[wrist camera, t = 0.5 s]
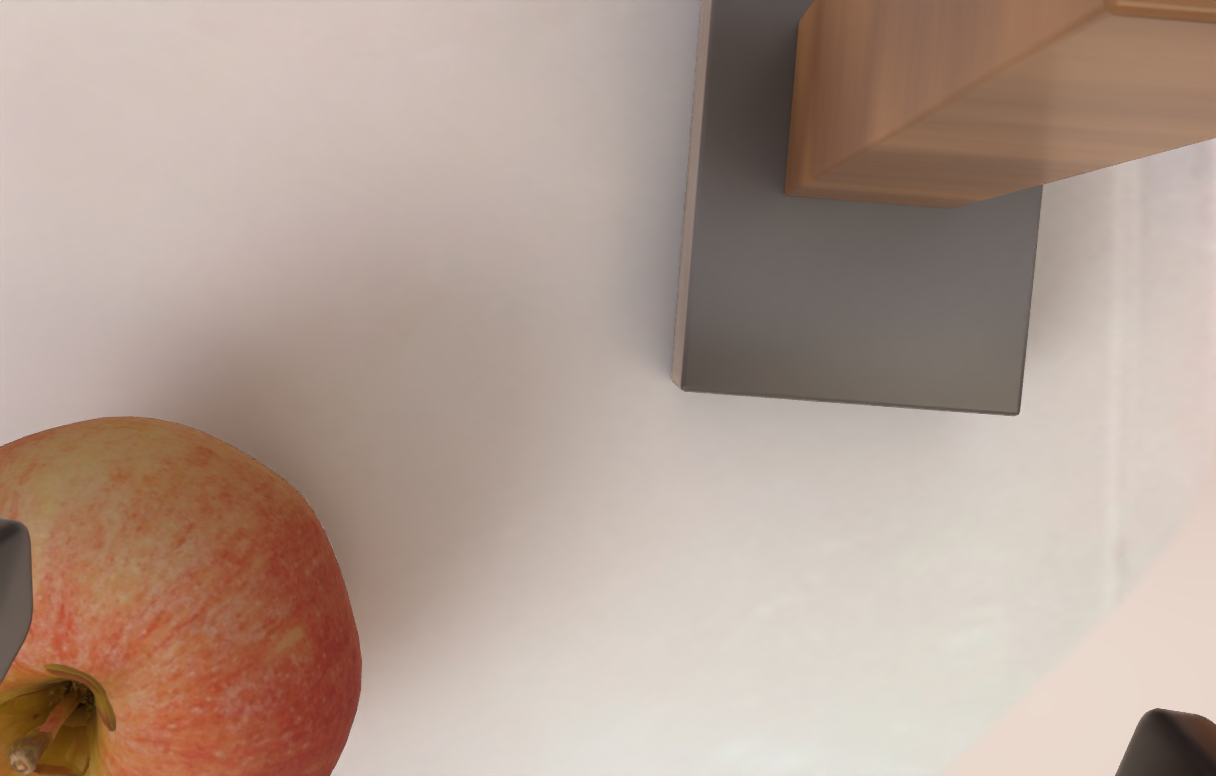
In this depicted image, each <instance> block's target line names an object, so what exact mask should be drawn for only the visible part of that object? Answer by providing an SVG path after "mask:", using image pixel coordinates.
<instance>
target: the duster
mask: <svg viewBox="0 0 1216 776" xmlns="http://www.w3.org/2000/svg"><path fill="white" fill-rule="evenodd" d="M1213 138H1216V0H701V8H700V21H699V33H698V46H697V58H696V71H695V83H694V96H693V108H692V121H691V133H690V146H689V158H688V171H687V183H686V196H685V208H684V221H683V233H682V246H681V258H680V271H679V283H678V296H677V308H676V321H675V333H674V346H673V358H672V371H671V379H672V381H673V382H674V383H675V384H676V385H677V386H678V387H679V388H680V389H681V390H683V391H685V392H698V393H711V394H725V395H738V396H751V397H765V398H778V399H792V400H805V401H818V402H832V403H845V404H858V405H872V406H885V407H898V408H912V409H925V410H939V411H952V412H965V413H979V414H992V415H1005V416H1016V415H1018V414H1019V412H1020V406H1021V396H1022V386H1023V377H1024V367H1025V357H1026V347H1027V337H1028V327H1029V317H1030V307H1031V297H1032V288H1033V278H1034V268H1035V258H1036V248H1037V238H1038V228H1039V218H1040V208H1041V199H1042V189H1043V184H1046V183H1049V182H1053V181H1057V180H1060V179H1064V178H1068V177H1072V176H1075V175H1079V174H1083V173H1086V172H1090V171H1094V170H1098V169H1101V168H1105V167H1109V166H1113V165H1116V164H1120V163H1124V162H1127V161H1131V160H1135V159H1139V158H1142V157H1146V156H1150V155H1153V154H1157V153H1161V152H1165V151H1168V150H1172V149H1176V148H1179V147H1183V146H1187V145H1191V144H1194V143H1198V142H1202V141H1205V140H1209V139H1213Z"/></svg>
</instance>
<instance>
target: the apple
mask: <svg viewBox="0 0 1216 776" xmlns="http://www.w3.org/2000/svg"><path fill="white" fill-rule="evenodd" d="M0 517H2V518H8V519H14V520H18V521H21V522H22V523H23V524H24V525H25V526H26V527H27V529H28V531H29V534H30V539H31V557H32V582H33V617H32V622H31V626H30V630H29V632H28V635H27V637H26V639H25V642H24V643H23V645H22V647H21V649H20V651H19V653H18V654H17V656H16V658H15V660H14V662H13V663H12V665H11V667H10V669H9V671H8V673H7V674H6V676H5V678H4V680H3V682H2V683H1V685H0V776H330V774H331V773H332V771H333V769H334V767H335V765H336V764H337V762H338V759H339V757H340V755H341V753H342V751H343V749H344V747H345V744H346V742H347V739H348V736H349V733H350V730H351V727H352V724H353V720H354V717H355V714H356V711H357V706H358V701H359V696H360V691H361V670H362V660H361V652H360V644H359V636H358V632H357V628H356V624H355V621H354V617H353V613H352V609H351V605H350V601H349V597H348V593H347V590H346V587H345V584H344V580H343V577H342V574H341V571H340V568H339V566H338V563H337V560H336V558H335V555H334V552H333V550H332V548H331V545H330V543H329V541H328V539H327V536H326V534H325V532H324V530H323V528H322V526H321V524H320V522H319V521H318V519H317V517H316V515H315V513H314V511H313V510H312V509H311V508H310V506H309V505H308V504H307V502H306V501H305V500H304V499H303V497H302V496H301V495H300V493H299V492H298V491H297V490H295V489H294V488H293V487H292V486H291V485H289V484H288V483H287V482H286V481H285V480H283V479H282V478H281V477H280V476H278V475H277V474H276V473H274V472H273V471H271V470H270V469H268V468H267V467H265V466H264V465H263V464H261V463H259V462H258V461H256V460H254V459H253V458H251V457H249V456H248V455H246V454H244V453H243V452H241V451H239V450H238V449H236V448H234V447H232V446H230V445H228V444H227V443H225V442H223V441H221V440H219V439H216V438H214V437H212V436H210V435H208V434H206V433H203V432H201V431H199V430H196V429H193V428H190V427H187V426H184V425H181V424H177V423H173V422H168V421H163V420H158V419H153V418H142V417H131V416H129V417H105V418H98V419H93V420H87V421H82V422H77V423H72V424H68V425H64V426H60V427H56V428H52V429H48V430H45V431H41V432H38V433H35V434H32V435H28V436H26V437H23V438H21V439H18V440H15V441H13V442H10V443H8V444H5V445H3V446H1V447H0Z"/></svg>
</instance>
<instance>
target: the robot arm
mask: <svg viewBox="0 0 1216 776" xmlns="http://www.w3.org/2000/svg"><path fill="white" fill-rule="evenodd" d="M32 617H33V582H32V557H31V539H30V534H29V531H28V529H27V527H26V526H25V525H24V524H23V523H22V522H21V521H18V520H14V519H8V518H2V517H0V685H1V683H2V682H3V680H4V678H5V676H6V674H7V673H8V671H9V669H10V667H11V665H12V663H13V662H14V660H15V658H16V656H17V654H18V653H19V651H20V649H21V647H22V645H23V643H24V642H25V639H26V637H27V635H28V632H29V630H30V626H31V622H32ZM1115 776H1216V724H1214V723H1213V722H1212V721H1210V720H1209V719H1207V718H1205V717H1203V716H1200V715H1197V714H1191V713H1185V712H1179V711H1172V710H1166V709H1159V708H1157V709H1153V710H1150V711H1148V712H1146V713H1145V715H1144V716H1143V717H1142V718H1141V720H1140V721H1139V723H1138V725H1137V727H1136V730H1135V732H1134V734H1133V736H1132V739H1131V741H1130V743H1129V745H1128V748H1127V750H1126V752H1125V754H1124V757H1123V759H1122V761H1121V763H1120V766H1119V768H1118V770H1117V773H1116V775H1115Z"/></svg>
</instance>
